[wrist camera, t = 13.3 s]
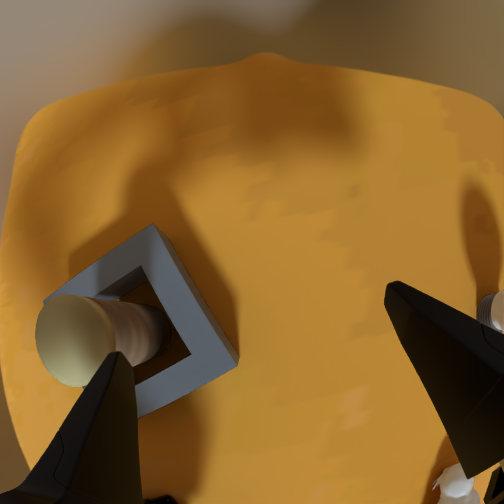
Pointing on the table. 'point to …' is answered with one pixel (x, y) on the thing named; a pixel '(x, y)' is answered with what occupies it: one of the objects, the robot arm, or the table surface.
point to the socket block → (175, 304)
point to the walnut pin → (96, 335)
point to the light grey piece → (456, 487)
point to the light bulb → (492, 311)
